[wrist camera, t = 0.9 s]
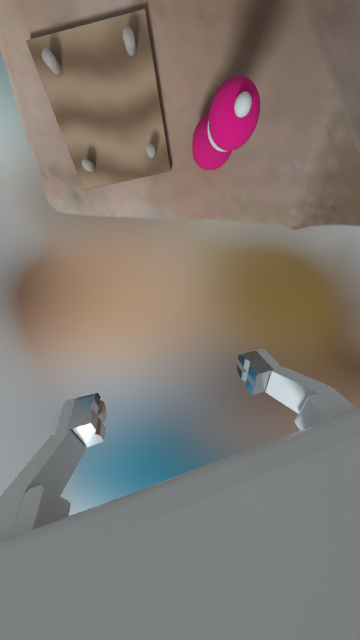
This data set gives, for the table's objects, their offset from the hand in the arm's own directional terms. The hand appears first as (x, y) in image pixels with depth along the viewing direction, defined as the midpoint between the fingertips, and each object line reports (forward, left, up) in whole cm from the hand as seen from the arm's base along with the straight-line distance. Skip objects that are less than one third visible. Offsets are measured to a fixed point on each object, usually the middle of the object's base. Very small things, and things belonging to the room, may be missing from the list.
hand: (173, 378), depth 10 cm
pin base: (-22, -6, -41) cm, 47 cm away
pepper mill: (-15, +11, -41) cm, 45 cm away
